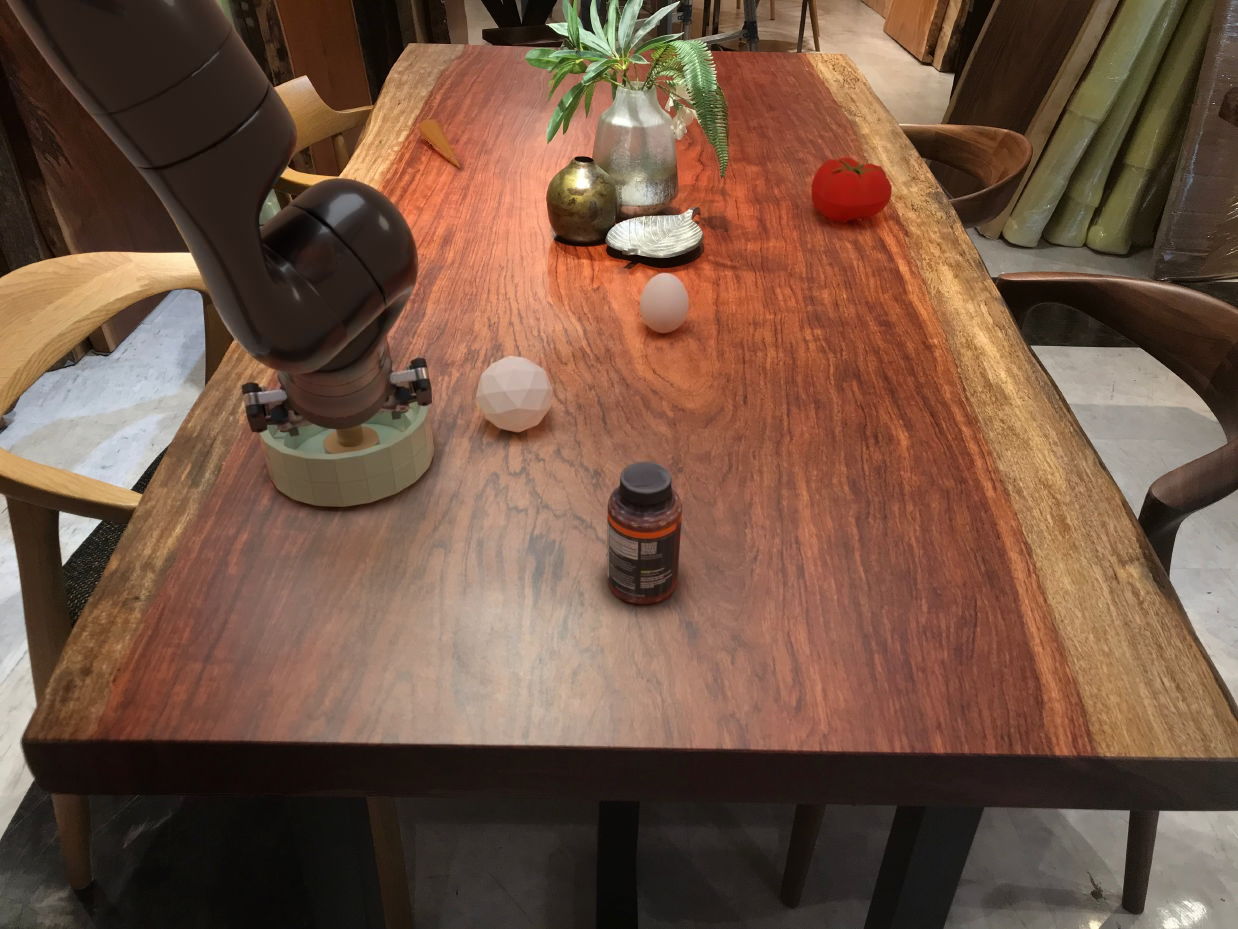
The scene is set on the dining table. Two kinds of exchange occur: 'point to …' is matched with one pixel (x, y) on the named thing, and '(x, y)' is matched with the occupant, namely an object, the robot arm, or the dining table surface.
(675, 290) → the egg
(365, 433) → the wooden peg on base
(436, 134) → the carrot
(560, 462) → the dining table surface
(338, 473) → the bowl
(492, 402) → the geometric ball
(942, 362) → the dining table surface
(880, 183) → the tomato
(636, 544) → the supplement bottle
